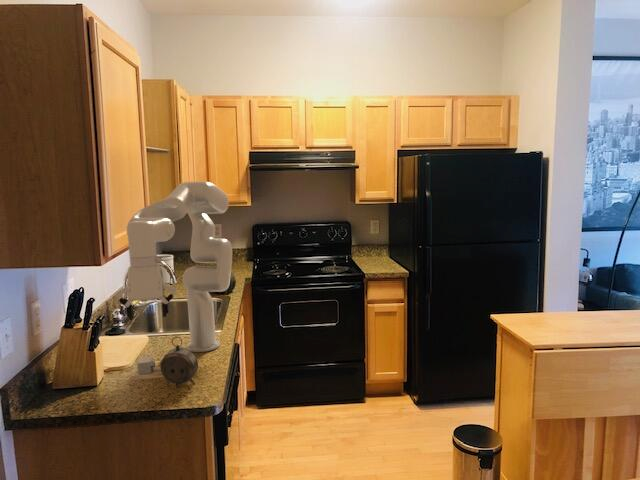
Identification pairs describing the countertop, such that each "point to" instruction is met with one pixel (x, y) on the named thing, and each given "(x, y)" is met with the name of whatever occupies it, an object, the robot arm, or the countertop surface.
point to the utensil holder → (166, 276)
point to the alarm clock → (179, 365)
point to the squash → (231, 283)
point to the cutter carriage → (145, 365)
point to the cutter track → (154, 374)
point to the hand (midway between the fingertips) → (148, 317)
